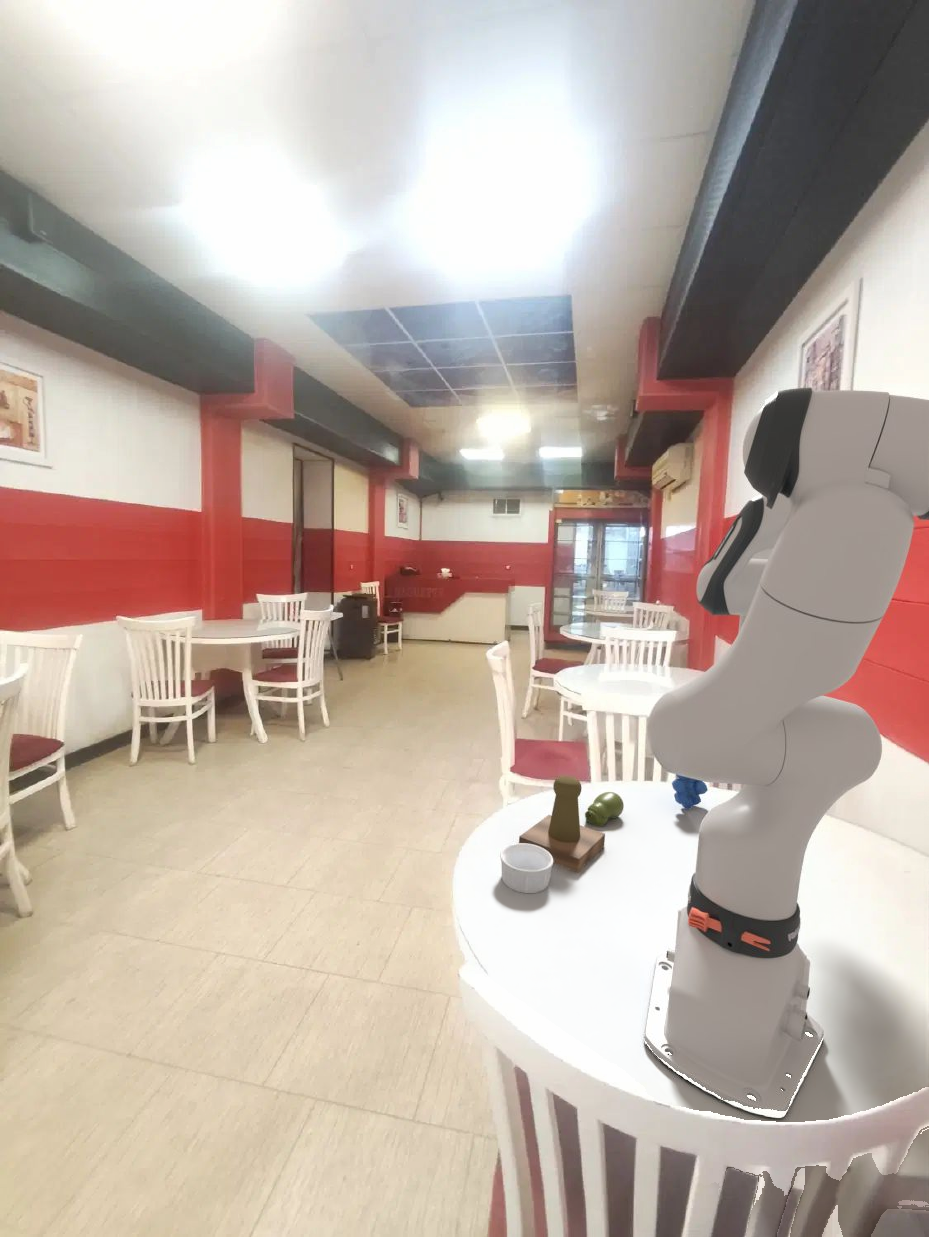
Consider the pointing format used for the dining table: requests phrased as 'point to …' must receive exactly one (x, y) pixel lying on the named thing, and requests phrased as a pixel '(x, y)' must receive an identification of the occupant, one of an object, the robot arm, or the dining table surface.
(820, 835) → the dining table surface
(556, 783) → the pepper mill
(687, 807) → the grapes
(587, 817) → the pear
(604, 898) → the dining table surface
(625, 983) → the dining table surface
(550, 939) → the dining table surface
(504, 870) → the ramekin
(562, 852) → the walnut block
